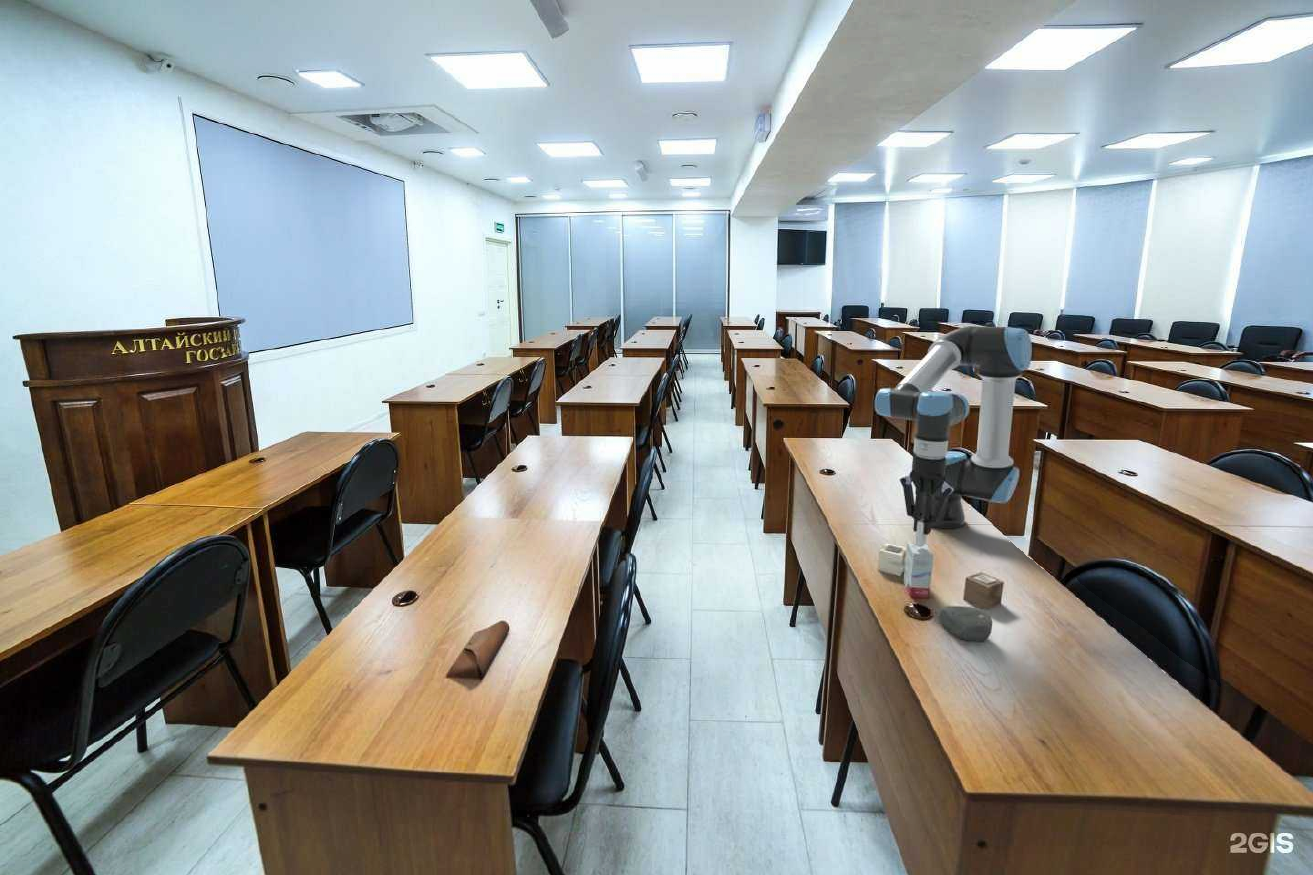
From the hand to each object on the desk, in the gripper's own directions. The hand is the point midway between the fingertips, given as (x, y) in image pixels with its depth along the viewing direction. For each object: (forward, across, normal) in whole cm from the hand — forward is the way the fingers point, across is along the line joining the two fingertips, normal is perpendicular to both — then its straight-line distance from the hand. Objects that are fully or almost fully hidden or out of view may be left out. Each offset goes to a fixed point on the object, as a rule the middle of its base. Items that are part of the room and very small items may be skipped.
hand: (920, 544), depth 156 cm
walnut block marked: (+13, +14, +6) cm, 20 cm away
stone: (+13, +16, -11) cm, 24 cm away
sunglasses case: (+14, -53, -95) cm, 110 cm away
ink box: (+13, 0, 0) cm, 13 cm away
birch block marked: (+13, -10, +7) cm, 18 cm away
